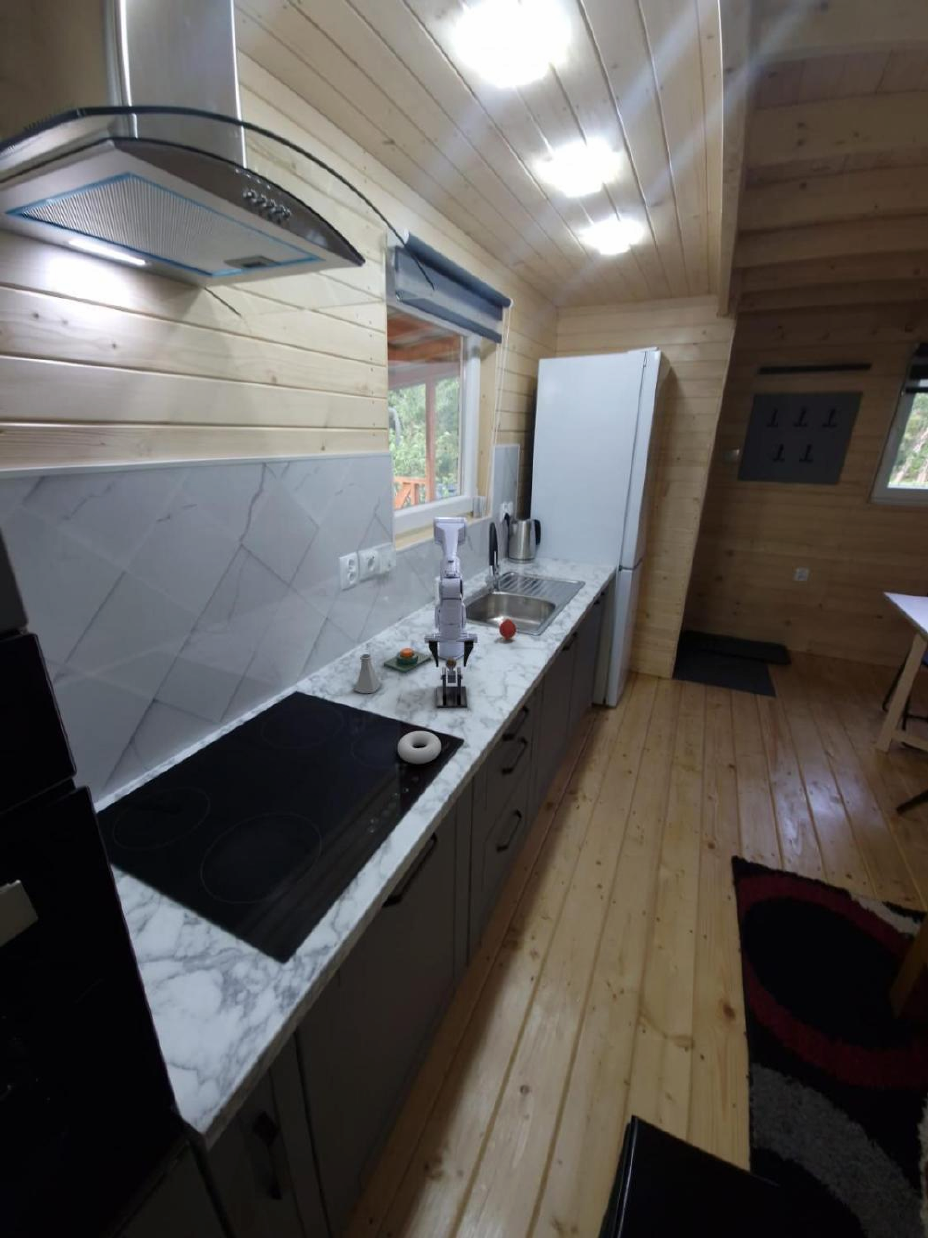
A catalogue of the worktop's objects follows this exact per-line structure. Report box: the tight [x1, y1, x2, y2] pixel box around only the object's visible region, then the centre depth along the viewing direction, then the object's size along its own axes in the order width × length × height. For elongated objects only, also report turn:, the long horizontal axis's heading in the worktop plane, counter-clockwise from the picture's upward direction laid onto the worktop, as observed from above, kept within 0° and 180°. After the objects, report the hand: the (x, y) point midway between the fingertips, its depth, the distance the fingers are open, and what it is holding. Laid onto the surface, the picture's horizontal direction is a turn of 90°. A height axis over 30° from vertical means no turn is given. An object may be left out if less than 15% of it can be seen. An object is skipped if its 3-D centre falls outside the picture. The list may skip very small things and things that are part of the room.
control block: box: [383, 650, 431, 674], centre depth 154 cm, size 12×9×3 cm
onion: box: [498, 618, 517, 641], centre depth 170 cm, size 6×6×8 cm
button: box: [400, 647, 414, 658], centre depth 153 cm, size 4×4×2 cm
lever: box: [444, 658, 457, 684], centre depth 136 cm, size 11×3×3 cm, turn 3°
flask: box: [354, 653, 381, 694], centre depth 139 cm, size 7×7×10 cm
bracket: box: [436, 666, 468, 709], centre depth 133 cm, size 10×8×9 cm
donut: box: [397, 730, 442, 765], centre depth 113 cm, size 10×4×10 cm
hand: (451, 665), depth 139 cm, fingers open, 7 cm apart
